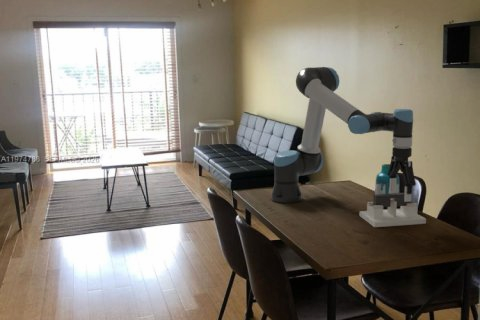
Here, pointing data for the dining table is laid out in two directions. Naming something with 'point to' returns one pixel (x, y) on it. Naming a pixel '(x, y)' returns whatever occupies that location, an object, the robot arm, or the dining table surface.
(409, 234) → the dining table surface
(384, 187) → the vase
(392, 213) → the white pegged base plate
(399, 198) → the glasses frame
